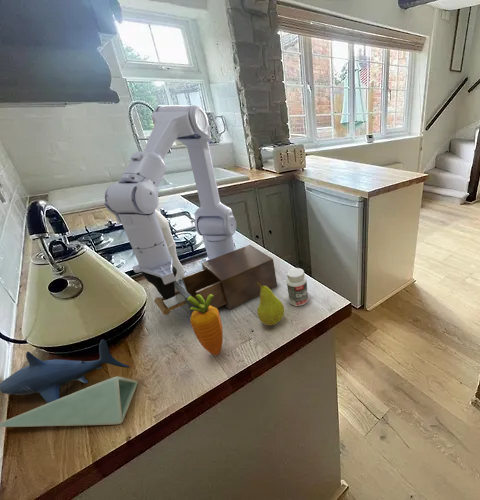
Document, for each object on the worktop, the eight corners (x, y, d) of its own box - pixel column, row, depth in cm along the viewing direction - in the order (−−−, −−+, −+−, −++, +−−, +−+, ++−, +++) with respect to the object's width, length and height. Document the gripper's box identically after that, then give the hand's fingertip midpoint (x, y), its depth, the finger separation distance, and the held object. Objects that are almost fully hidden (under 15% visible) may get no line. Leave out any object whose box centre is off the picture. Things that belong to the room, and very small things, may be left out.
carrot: (234, 346, 61) (218, 287, 54) (223, 365, 57) (203, 304, 50) (211, 344, 62) (192, 285, 54) (198, 364, 57) (176, 302, 50)
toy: (44, 378, 58) (0, 344, 53) (147, 348, 57) (113, 311, 52) (-1, 427, 50) (-57, 393, 45) (119, 393, 49) (75, 355, 44)
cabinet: (229, 310, 71) (221, 280, 67) (209, 290, 78) (201, 262, 74) (277, 286, 80) (273, 258, 76) (255, 270, 87) (250, 244, 83)
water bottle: (174, 289, 79) (141, 200, 67) (151, 286, 80) (115, 198, 68) (192, 275, 85) (165, 190, 73) (170, 272, 86) (140, 189, 74)
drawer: (172, 333, 63) (162, 308, 60) (157, 311, 70) (147, 288, 67) (245, 297, 74) (240, 275, 71) (226, 281, 80) (220, 260, 77)
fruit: (289, 315, 69) (283, 272, 64) (279, 332, 64) (272, 288, 59) (266, 312, 70) (258, 269, 65) (255, 329, 65) (245, 285, 60)
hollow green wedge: (-5, 376, 46) (129, 357, 51) (14, 402, 49) (138, 382, 54) (-49, 425, 39) (110, 398, 44) (-25, 453, 42) (122, 424, 47)
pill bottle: (298, 309, 71) (295, 280, 67) (285, 301, 74) (281, 273, 70) (312, 299, 75) (309, 271, 71) (299, 292, 77) (296, 265, 73)
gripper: (116, 238, 61) (139, 291, 67) (135, 262, 52) (160, 321, 59) (154, 227, 65) (172, 278, 72) (177, 248, 56) (196, 304, 63)
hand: (169, 296), depth 66 cm, fingers closed
